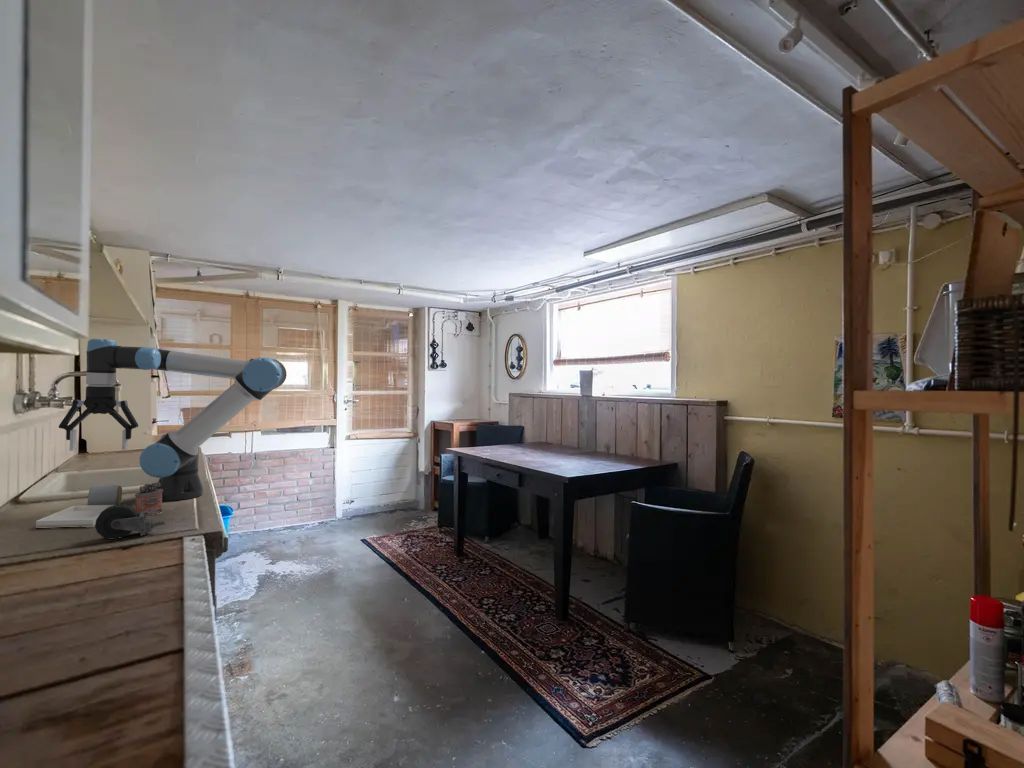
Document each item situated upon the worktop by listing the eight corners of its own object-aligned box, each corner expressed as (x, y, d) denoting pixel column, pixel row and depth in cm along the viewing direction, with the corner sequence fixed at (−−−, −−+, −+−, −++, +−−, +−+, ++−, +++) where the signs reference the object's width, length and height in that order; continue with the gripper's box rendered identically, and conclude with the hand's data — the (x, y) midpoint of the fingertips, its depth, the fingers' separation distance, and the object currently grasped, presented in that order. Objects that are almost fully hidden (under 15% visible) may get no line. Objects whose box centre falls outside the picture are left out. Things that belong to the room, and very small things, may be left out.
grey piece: (119, 508, 160) (120, 485, 160) (86, 511, 155) (87, 487, 155) (123, 501, 169) (124, 479, 169) (92, 504, 164) (93, 481, 164)
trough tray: (123, 511, 157) (123, 504, 156) (92, 527, 141) (93, 519, 141) (72, 512, 153) (73, 505, 153) (35, 528, 138) (36, 521, 138)
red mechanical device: (139, 518, 150) (140, 487, 150) (131, 517, 151) (132, 485, 151) (165, 512, 158) (165, 481, 158) (157, 510, 159) (158, 480, 159)
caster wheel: (96, 546, 129) (164, 532, 137) (92, 511, 128) (161, 499, 137) (99, 540, 134) (165, 527, 142) (95, 506, 133) (162, 495, 141)
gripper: (150, 386, 167) (148, 446, 168) (57, 384, 157) (55, 448, 157) (143, 387, 161) (142, 450, 161) (46, 384, 150) (44, 452, 151)
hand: (99, 449), depth 159 cm, fingers open, 13 cm apart
